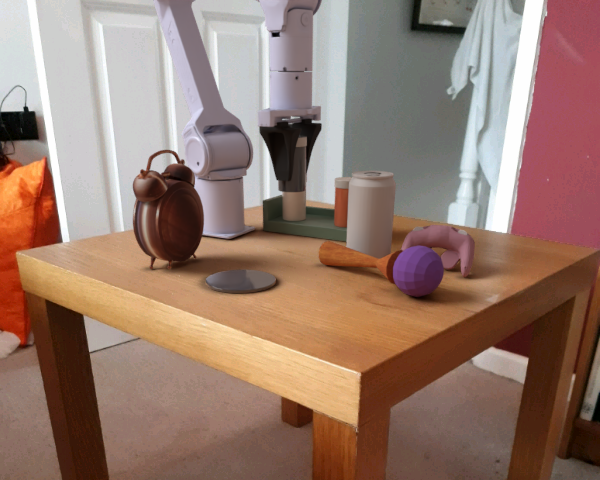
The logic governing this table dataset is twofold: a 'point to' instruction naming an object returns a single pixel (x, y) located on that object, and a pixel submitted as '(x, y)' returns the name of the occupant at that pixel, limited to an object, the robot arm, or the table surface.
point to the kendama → (393, 266)
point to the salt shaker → (294, 205)
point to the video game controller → (445, 244)
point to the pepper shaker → (297, 169)
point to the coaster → (240, 281)
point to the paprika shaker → (341, 201)
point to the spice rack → (314, 225)
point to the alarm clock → (167, 212)
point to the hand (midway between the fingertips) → (291, 178)
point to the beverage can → (371, 212)
